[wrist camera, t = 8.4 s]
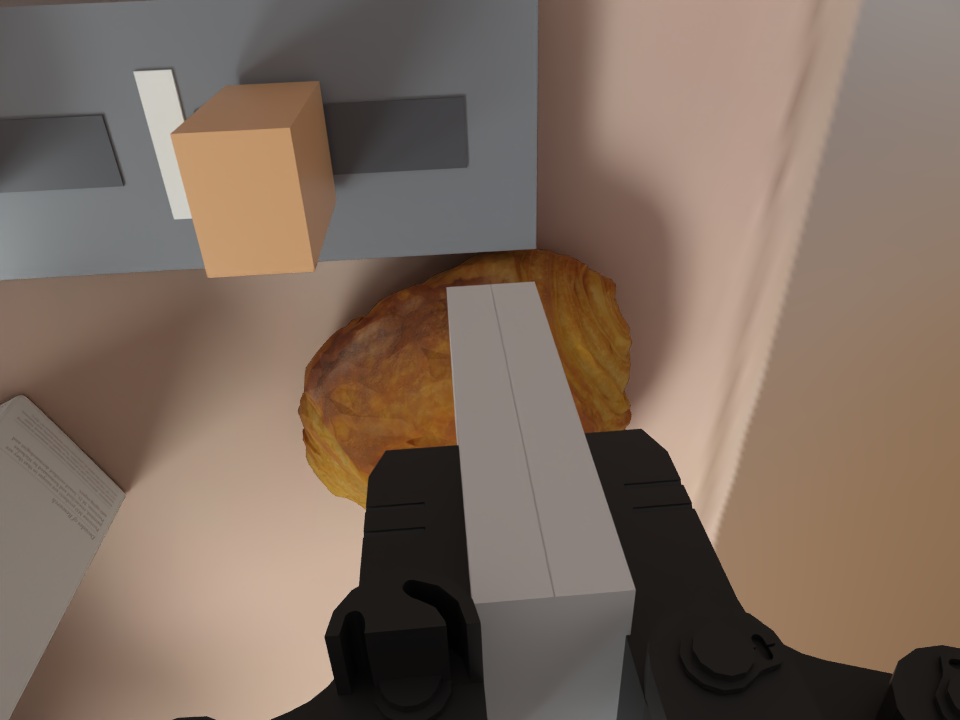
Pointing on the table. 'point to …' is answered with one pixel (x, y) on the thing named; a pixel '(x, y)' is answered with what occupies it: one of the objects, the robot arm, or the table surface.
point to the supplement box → (42, 535)
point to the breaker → (258, 178)
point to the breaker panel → (258, 60)
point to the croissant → (428, 371)
